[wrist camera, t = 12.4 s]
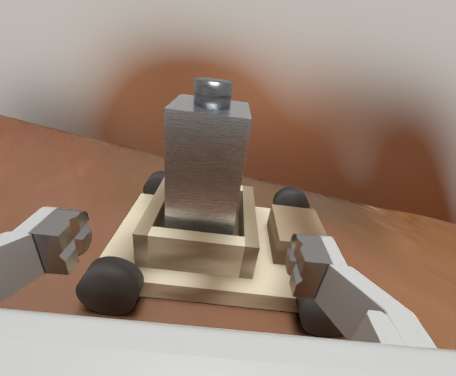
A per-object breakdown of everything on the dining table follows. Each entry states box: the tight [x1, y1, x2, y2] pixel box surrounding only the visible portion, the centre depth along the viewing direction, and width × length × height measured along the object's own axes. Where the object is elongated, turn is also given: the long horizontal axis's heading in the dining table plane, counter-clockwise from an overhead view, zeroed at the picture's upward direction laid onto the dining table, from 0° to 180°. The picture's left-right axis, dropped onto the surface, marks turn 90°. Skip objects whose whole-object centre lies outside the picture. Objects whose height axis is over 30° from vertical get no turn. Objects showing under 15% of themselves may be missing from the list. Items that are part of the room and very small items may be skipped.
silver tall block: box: [164, 77, 252, 235], centre depth 19 cm, size 5×5×12 cm
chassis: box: [76, 171, 342, 337], centre depth 22 cm, size 18×14×4 cm
